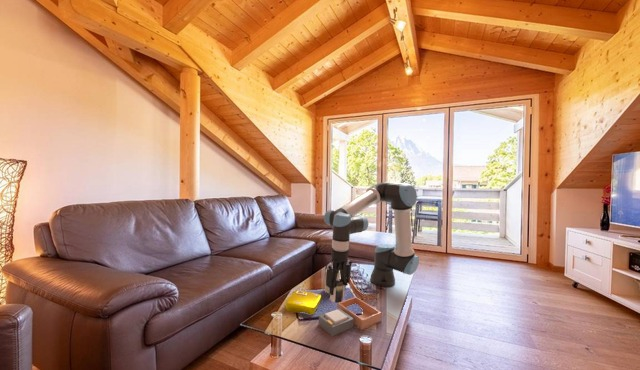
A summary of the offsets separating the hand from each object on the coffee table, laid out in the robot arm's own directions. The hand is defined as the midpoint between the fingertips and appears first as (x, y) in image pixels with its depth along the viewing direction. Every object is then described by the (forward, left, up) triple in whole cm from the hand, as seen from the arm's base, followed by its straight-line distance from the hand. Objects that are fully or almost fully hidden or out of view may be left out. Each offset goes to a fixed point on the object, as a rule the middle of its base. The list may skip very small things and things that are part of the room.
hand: (336, 299), depth 125 cm
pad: (0, 0, -10) cm, 10 cm away
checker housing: (0, 0, -12) cm, 12 cm away
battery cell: (0, 0, 0) cm, 0 cm away
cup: (-19, -27, -13) cm, 35 cm away
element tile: (+3, -22, -13) cm, 26 cm away
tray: (-14, 0, -12) cm, 19 cm away
